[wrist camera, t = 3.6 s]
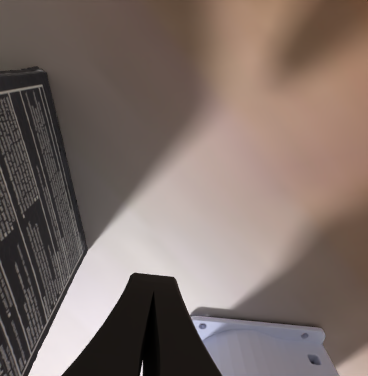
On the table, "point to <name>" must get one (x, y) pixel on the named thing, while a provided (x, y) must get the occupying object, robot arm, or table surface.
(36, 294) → the small box
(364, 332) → the table surface
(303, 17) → the table surface
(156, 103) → the table surface
